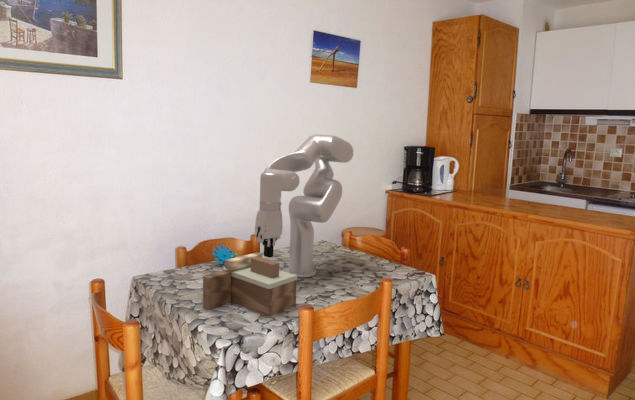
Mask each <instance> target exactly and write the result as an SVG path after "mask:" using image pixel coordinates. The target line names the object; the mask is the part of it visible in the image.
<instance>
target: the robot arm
mask: <svg viewBox="0 0 635 400" xmlns="http://www.w3.org/2000/svg"><path fill="white" fill-rule="evenodd" d="M353 157H354V147H353V146H352V144H351V143H350V142H349V141H347V140H344V139H343V138H340V136H337V135H331V134H312V135H310V136H308V138H307V139H306V140H304V141H303V142H302V144H301V145H300V146H299V147H298V148H297V149H296V150H295V151H293V152H291V153H288V154H286V155H283V156H281V157H278V158H276V159H275V160H273V161H272V162H271V163H270V164H269V165H268V166H267V167H266V168H265V169H264V170H263V172H262V173H260V177H259V178H260V179H259V181H260V182H259V207H258V208H259V209H258V210H257V213H256V216H255V224H254V237H255V238H256V242H257V243H261V244H262V246H263V256H264V257H266V258H270V259H271V258H274V247H276V246H275V245H276V242H277V241H278V240H280V239H281V236H282V234H283V213H282V209H281V207H282V204H283V203H282V192H292V191H294V190H296V189H298V187H299V185H300V177H299V175H298V174H297V172H302V171H307V170H308V169H310V168H312V166H313V165H314V164H315V166H314V167H315V168H314V170H313V171H312V174H311V175H310V176H309V178H308V179H307V181H306V182H305V185H304V187H303V191H302V193H303V195H296V196H293V197H292V198H290V201H289V203H288V214H289V221H290V223H289V224H290V225H289V226H290V233H289V234H290V235H289V255H288V257H289V260H288V261H289V262H288V267H286V268H285V269H284V272H288V273H291V274H294V275H297V278H310V277H314V276H316V274H317V270H316V269H315V268H314V267H315V266H318V265H320V261H319V260H318V259H317V260H314V240H315V229H314V226H313V224H312V223H313V222H314V223H320V224H323V223H326V222H328V221H329V220H330V218H331V217H332V215H333V214H334V213H335V212H334V211H335V210H336V208H337V207H338V204H339V203H340V200H341V199H342V197H343V196H342V195H343V186H342V183H341V182H340V181H339V180H338V179H337V180H336V179H334V176H335V175H334V173H335V172H334V170H333V168H332V166H331V164H330V162H332V163H345V164H346V163H349V162H350V161H351V160H353Z"/></svg>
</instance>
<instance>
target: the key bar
mask: <svg viewBox="0 0 635 400" xmlns="http://www.w3.org/2000/svg"><path fill="white" fill-rule="evenodd" d="M254 257H261V258H263V254H262V253H259V252H253V253H249V254H245V255H241V256H236V257H235V258H232V259H228V260H225V262H224V264H225V266H224V268H225V269H227V270H230V271H232V270H236V269H240V268H244V267H247V266H251V258H254Z"/></svg>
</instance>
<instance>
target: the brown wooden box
mask: <svg viewBox="0 0 635 400" xmlns="http://www.w3.org/2000/svg"><path fill="white" fill-rule="evenodd" d="M297 285H298V279H297V280H295V281H292V282H289V283H286V284H283V285H280V286H277V287H274V288H271V289H267V288H264V287H261V286H258V285H255V284H253V283H250V282H247V281H244V280H241V279H238V278H236V277H233V276H231V272H229V271H226V270H224V271H222V270H221V271H217V272H213V273H210V274H206V275H205V274H204V275H203V276H202V308H203V309H206V310H207V311H210V310H213V309H217V308H219V307H222V306H225V305H229V304H230V303H232V304H234V305H238V306H239V307H243V308H245V309H247V310H250V311H251V312H252V311H253V312H255V313H258V314H259V315H262V316H265V317H267V318H269V317H271V316H274V315H277V314H279V313H282V312H284V311H286V310H289V309H291V308H294V307H296V306H297Z"/></svg>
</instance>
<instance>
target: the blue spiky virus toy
mask: <svg viewBox="0 0 635 400" xmlns="http://www.w3.org/2000/svg"><path fill="white" fill-rule="evenodd" d="M224 247H225V248H224ZM229 249H230V246H229V245H226V246H225V245H224V244H221V245H220V246H219V245H216V246H215V248H213V250H212V252H213V253H212V257H213V258H214V262H215V263H216V262H218V265H220V266H222V265H223V266H224V267H225V260H228V259H232V258H236V257H238V252H235V253H234V250H233V249H232V248H231V249H230V250H229ZM223 263H224V264H223Z"/></svg>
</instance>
